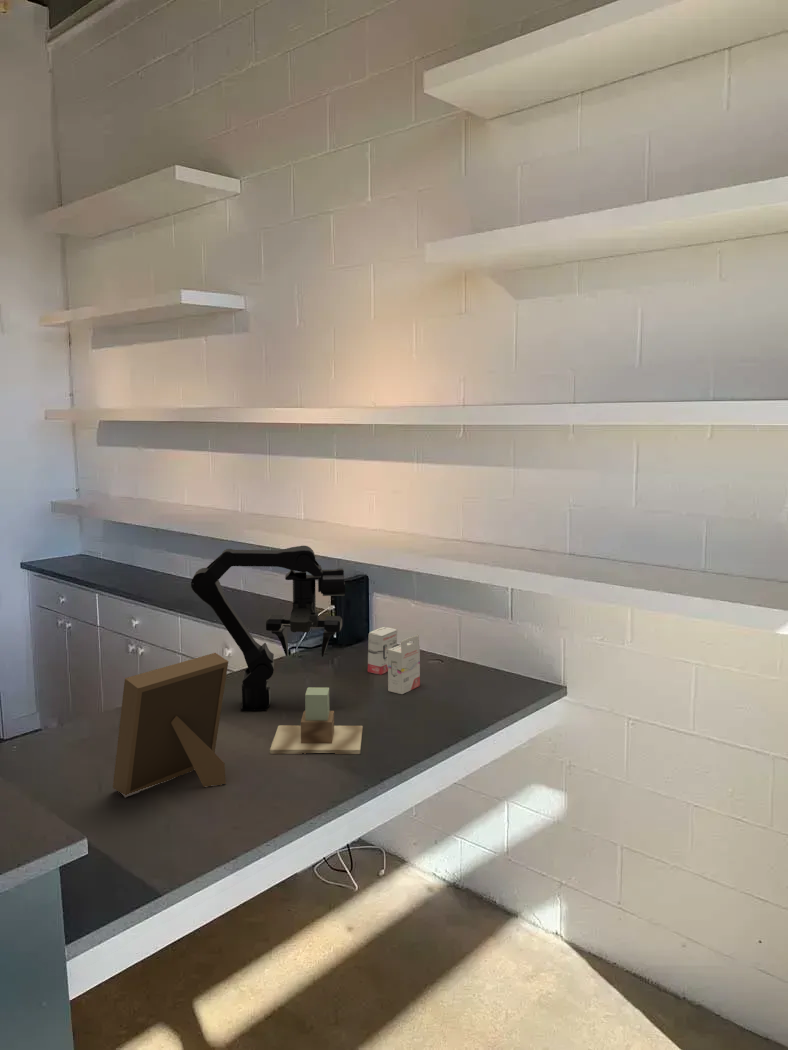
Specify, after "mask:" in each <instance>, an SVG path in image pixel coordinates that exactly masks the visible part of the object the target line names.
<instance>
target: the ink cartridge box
mask: <svg viewBox="0 0 788 1050" xmlns="http://www.w3.org/2000/svg"><path fill="white" fill-rule="evenodd" d="M419 635H420V634H417V635H413V636H411V637H408V638H406V639H405V638H404V639H403V640H401V641H400V644H399V645H397V646H396V647H393V648H391V649H388V672H387V686H388V687H387V690H388V692H390V693H395V694H399V695H403V694H405V693H408V692H410V691H412V690H415V689H417V688H419V687H420V686H421V684H420V683H421V681H420V679H421V678H420V677H421V674H420V673H421V668H420V667H421V661H420V659H421V658H420V657H421V654H420V653H421V649H420V648H421V646H420V636H419ZM411 642H412V643H411Z"/></svg>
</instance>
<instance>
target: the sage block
mask: <svg viewBox="0 0 788 1050" xmlns="http://www.w3.org/2000/svg"><path fill="white" fill-rule="evenodd" d="M304 695H305V696H304V698H305V701H304V703H305V706H304V707H305V708H304V709H305V710H304V711H305V716H306V720H318V721H328V717H329V711H330V687H311V686H310V687H309V686H308V687H307V688H306V691H305V694H304Z"/></svg>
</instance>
